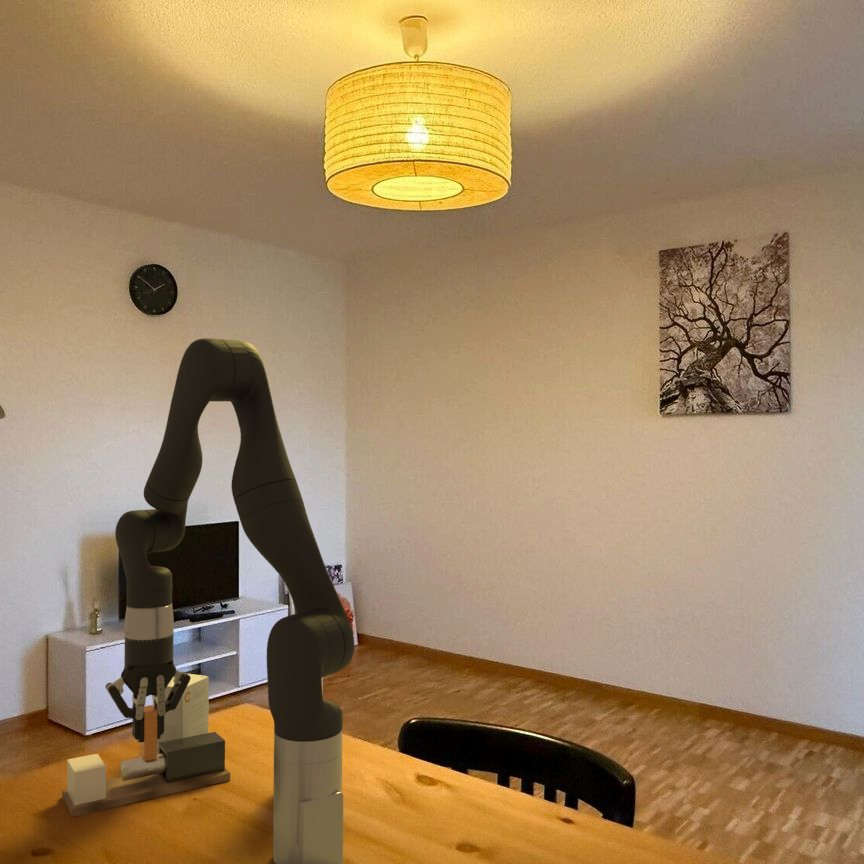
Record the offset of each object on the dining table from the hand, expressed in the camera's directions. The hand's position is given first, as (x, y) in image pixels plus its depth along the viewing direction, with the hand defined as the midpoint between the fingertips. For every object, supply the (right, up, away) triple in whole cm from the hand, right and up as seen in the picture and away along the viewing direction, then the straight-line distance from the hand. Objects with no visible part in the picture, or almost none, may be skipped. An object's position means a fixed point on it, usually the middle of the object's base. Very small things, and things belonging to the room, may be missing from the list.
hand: (148, 738), depth 134 cm
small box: (+1, -8, +16) cm, 18 cm away
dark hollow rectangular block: (+6, -7, +4) cm, 10 cm away
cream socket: (-8, -7, -5) cm, 12 cm away
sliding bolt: (+2, -6, +2) cm, 7 cm away
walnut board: (0, -8, 0) cm, 8 cm away
